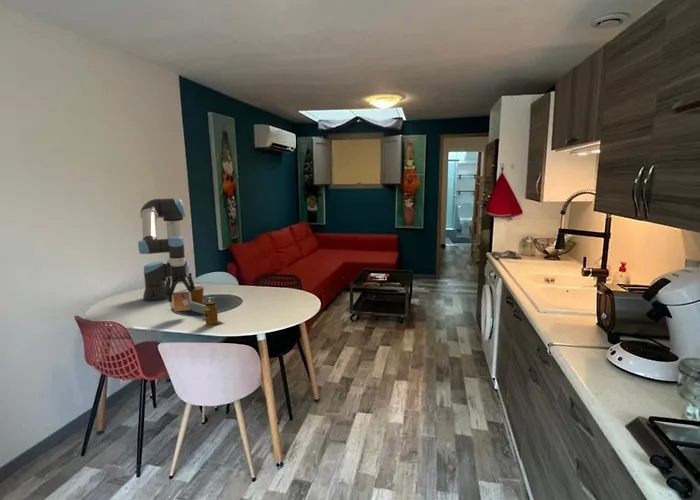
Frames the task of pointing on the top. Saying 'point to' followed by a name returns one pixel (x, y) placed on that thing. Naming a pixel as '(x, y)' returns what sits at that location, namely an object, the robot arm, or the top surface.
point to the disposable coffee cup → (197, 293)
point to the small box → (181, 300)
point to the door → (197, 307)
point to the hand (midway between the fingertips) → (181, 305)
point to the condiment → (211, 314)
